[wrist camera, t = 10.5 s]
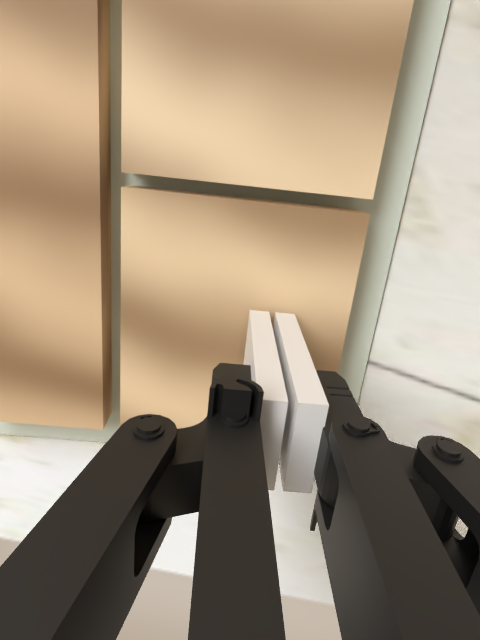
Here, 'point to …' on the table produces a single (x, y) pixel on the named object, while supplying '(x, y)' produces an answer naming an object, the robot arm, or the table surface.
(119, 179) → the underlay sheet
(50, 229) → the laid floorboard
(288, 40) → the plank
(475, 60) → the table surface
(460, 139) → the table surface
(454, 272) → the table surface
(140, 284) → the plank
